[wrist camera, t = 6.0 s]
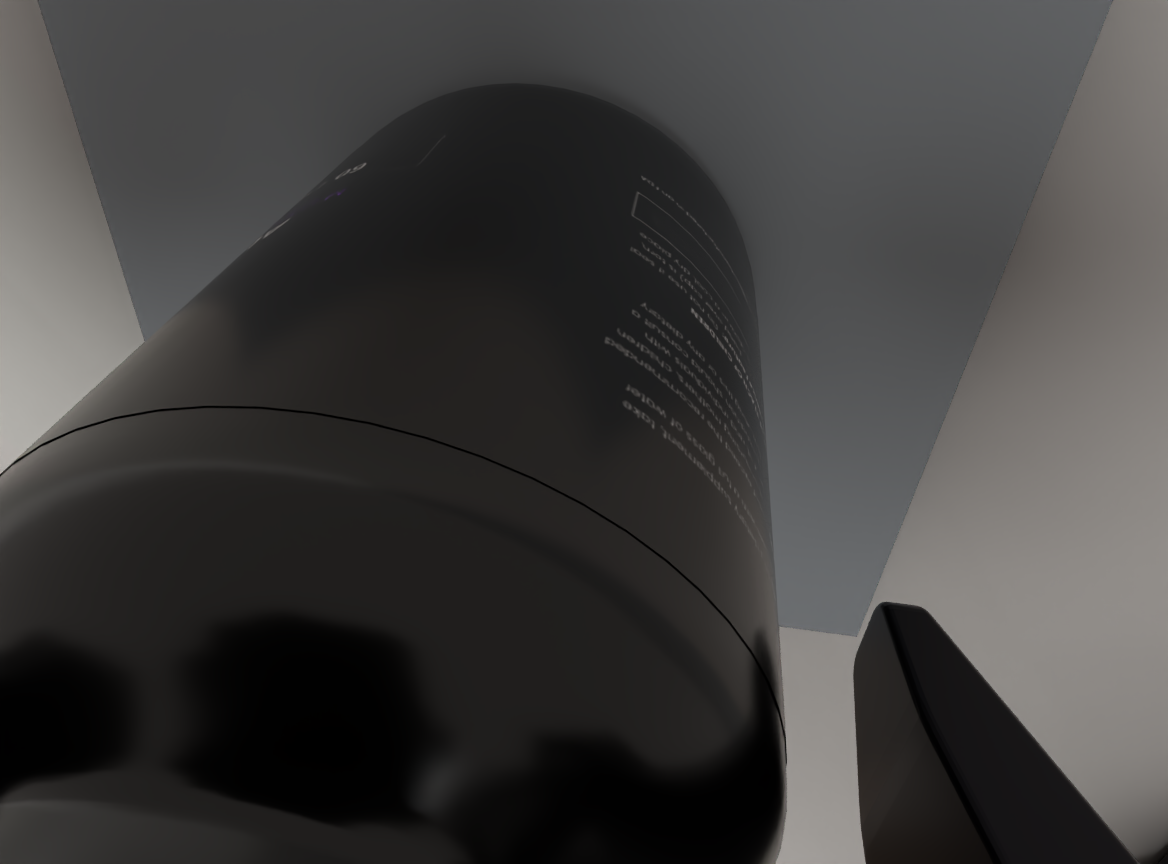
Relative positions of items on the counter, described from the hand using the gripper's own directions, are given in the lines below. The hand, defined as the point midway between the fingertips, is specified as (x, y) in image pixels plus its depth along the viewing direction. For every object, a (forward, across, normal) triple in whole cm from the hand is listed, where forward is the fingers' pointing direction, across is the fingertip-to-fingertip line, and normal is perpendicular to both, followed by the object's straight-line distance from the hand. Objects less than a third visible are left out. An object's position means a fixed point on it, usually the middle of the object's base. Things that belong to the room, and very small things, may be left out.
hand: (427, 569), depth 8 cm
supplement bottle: (+6, 0, 0) cm, 6 cm away
